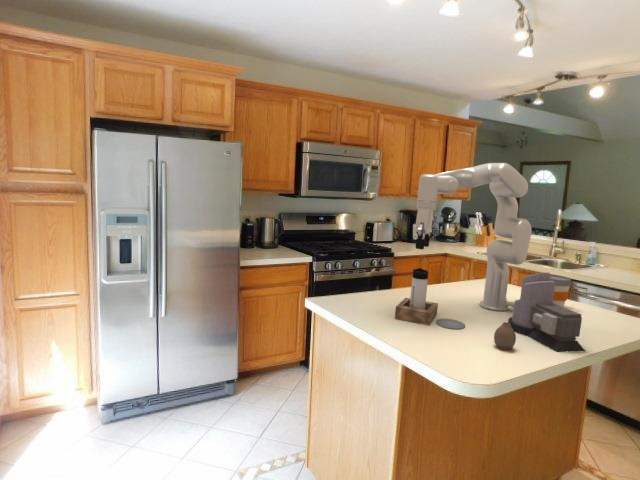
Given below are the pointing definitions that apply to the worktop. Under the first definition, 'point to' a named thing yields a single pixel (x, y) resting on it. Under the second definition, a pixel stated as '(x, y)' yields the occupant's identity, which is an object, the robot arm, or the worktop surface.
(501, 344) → the vase
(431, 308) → the brown wooden tray
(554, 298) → the reusable coffee cup
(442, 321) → the rubber coaster
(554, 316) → the juicer
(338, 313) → the worktop surface
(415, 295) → the travel mug
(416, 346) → the worktop surface
